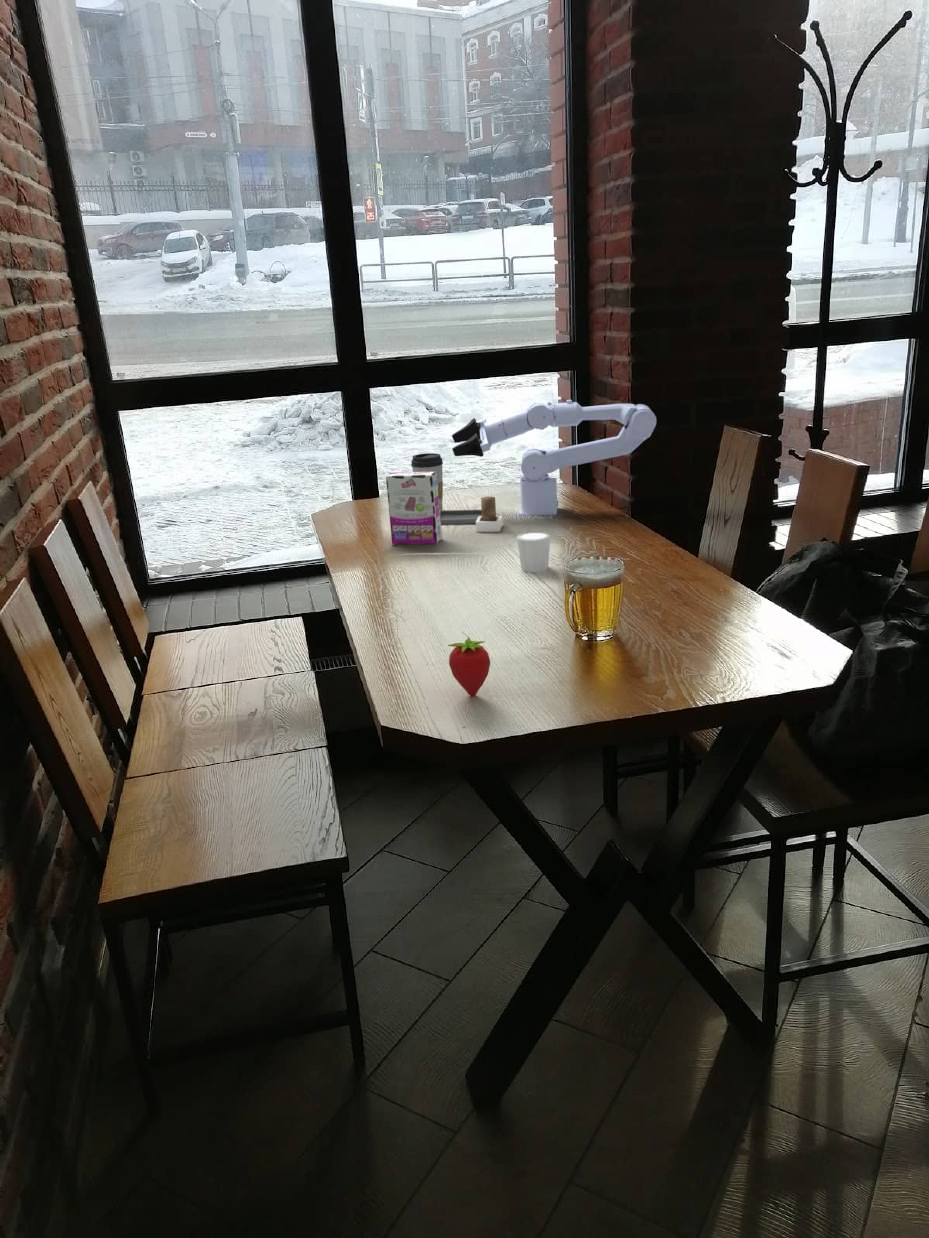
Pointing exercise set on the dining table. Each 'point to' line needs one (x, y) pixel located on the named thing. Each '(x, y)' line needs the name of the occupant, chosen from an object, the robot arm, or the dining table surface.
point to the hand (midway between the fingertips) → (453, 445)
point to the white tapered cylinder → (534, 551)
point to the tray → (459, 516)
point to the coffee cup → (430, 468)
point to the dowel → (488, 509)
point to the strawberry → (469, 665)
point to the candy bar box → (414, 507)
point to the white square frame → (489, 525)
